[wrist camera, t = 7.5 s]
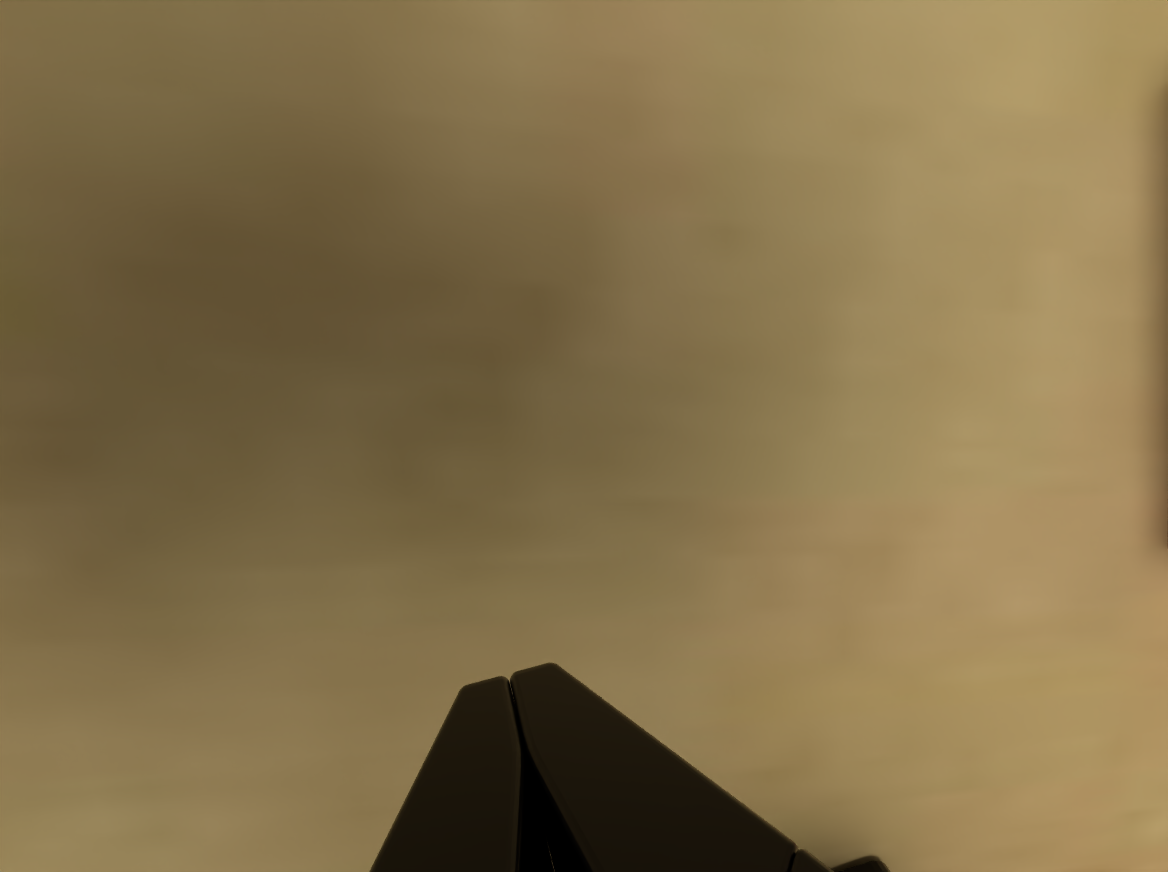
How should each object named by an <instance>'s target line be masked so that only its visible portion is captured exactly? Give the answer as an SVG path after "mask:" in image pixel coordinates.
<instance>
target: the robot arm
mask: <svg viewBox="0 0 1168 872" xmlns="http://www.w3.org/2000/svg"><path fill="white" fill-rule="evenodd" d="M510 684H511V686H510ZM511 689H512V690H511ZM512 693H513V694H512ZM513 698H514V699H513ZM514 702H515V703H514ZM549 850H550V851H549ZM550 854H551V855H550ZM551 858H552V859H551ZM552 862H553V864H552ZM553 867H554V868H553ZM554 871H555V872H834V871H832V870H831V869H830V868H828V867H827V866H826V865H824V864H823V863H822V862H820V861H819V860H818V859H817V858H815V857H814V856H813V855H811V854H810V853H809V852H807V851H806V850H804V849H800V850H798V846H797V845H796V844H795V842H793V841H792V840H791V839H789V838H788V837H787V836H785V835H784V834H783V833H781V832H780V831H779V830H777V829H776V828H775V827H773V826H772V825H771V824H769V823H768V822H767V821H765V820H764V819H763V818H761V817H760V816H759V815H757V814H756V813H755V812H753V811H752V810H751V809H749V808H748V807H747V806H745V805H744V804H743V803H741V802H740V801H739V800H737V799H736V798H735V797H733V796H732V795H731V794H729V793H728V792H727V791H725V790H724V789H723V788H721V787H720V786H719V785H717V784H716V783H715V782H713V781H712V780H711V779H709V778H708V777H707V776H705V775H704V774H703V773H701V772H700V771H699V770H697V769H696V768H695V767H693V766H692V765H691V764H689V763H688V762H687V761H685V760H684V759H683V758H681V757H680V756H679V755H677V754H676V753H675V752H673V751H672V750H670V749H669V748H668V747H666V746H665V745H664V744H662V743H661V742H660V741H658V740H657V739H656V738H654V737H653V736H652V735H650V734H649V733H648V732H646V731H645V730H644V729H642V728H641V727H640V726H638V725H637V724H636V723H634V722H633V721H632V720H630V719H629V718H628V717H626V716H625V715H624V714H622V713H621V712H620V711H618V710H617V709H616V708H614V707H613V706H612V705H610V704H609V703H608V702H606V701H605V700H604V699H602V698H601V697H600V696H598V695H597V694H596V693H594V692H593V691H592V690H590V689H589V688H588V687H586V686H585V685H584V684H582V683H581V682H580V681H578V680H577V679H576V678H574V677H573V676H572V675H570V674H569V673H568V672H566V671H565V670H564V669H562V668H561V667H560V666H558V665H557V664H555V663H546V664H542V665H539V666H535V667H531V668H528V669H524V670H520V671H517V672H515V673H513V674H512V676H511V678H510V683H509V680H508V679H507V678H506V677H503V676H498V677H494V678H491V679H487V680H483V681H480V682H476V683H472V684H468V685H465V686H464V687H463V688H461V689H460V691H459V693H458V695H457V697H456V699H455V701H454V703H453V705H452V707H451V709H450V711H449V713H448V715H447V717H446V719H445V721H444V723H443V725H442V727H441V729H440V731H439V733H438V735H437V737H436V739H435V741H434V743H433V745H432V747H431V749H430V751H429V753H428V755H427V757H426V759H425V761H424V763H423V765H422V767H421V769H420V771H419V773H418V775H417V777H416V779H415V781H414V783H413V785H412V787H411V789H410V791H409V793H408V795H407V797H406V799H405V801H404V803H403V805H402V807H401V809H400V811H399V813H398V815H397V817H396V819H395V821H394V823H393V825H392V827H391V829H390V831H389V833H388V835H387V837H386V839H385V842H384V844H383V846H382V848H381V850H380V852H379V854H378V856H377V858H376V860H375V862H374V864H373V866H372V868H371V870H370V872H554ZM840 872H890V871H889V869H888V868H887V866H886V865H885V864H884V863H883V862H881V861H871V862H867V863H864V864H861V865H858V866H855V867H852V868H849V869H846V870H843V871H840Z"/></svg>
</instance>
